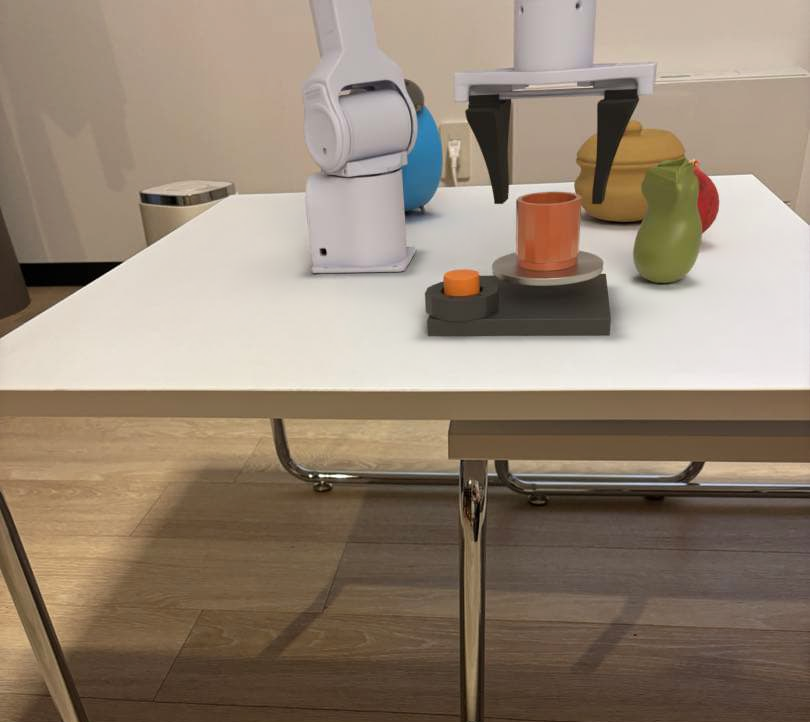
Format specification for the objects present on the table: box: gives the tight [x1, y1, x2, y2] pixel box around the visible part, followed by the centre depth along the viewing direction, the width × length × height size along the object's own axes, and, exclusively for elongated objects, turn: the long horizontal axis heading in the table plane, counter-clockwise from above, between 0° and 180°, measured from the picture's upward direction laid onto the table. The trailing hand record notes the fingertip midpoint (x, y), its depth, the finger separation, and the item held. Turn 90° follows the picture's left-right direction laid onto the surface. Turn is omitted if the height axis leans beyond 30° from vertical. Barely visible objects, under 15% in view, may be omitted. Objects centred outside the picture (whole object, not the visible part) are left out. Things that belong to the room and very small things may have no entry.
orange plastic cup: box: [515, 191, 582, 271], centre depth 66 cm, size 5×5×5 cm
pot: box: [573, 119, 686, 223], centre depth 91 cm, size 12×12×10 cm
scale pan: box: [491, 250, 604, 286], centre depth 68 cm, size 9×9×1 cm
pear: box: [632, 157, 703, 284], centre depth 70 cm, size 6×5×10 cm
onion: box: [688, 158, 720, 235], centre depth 80 cm, size 6×6×8 cm
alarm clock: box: [348, 78, 444, 215], centre depth 100 cm, size 13×6×15 cm, turn 40°
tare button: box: [443, 268, 480, 296], centre depth 65 cm, size 3×3×2 cm
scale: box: [424, 273, 612, 337], centre depth 68 cm, size 14×12×3 cm
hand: (548, 201), depth 65 cm, fingers open, 7 cm apart
